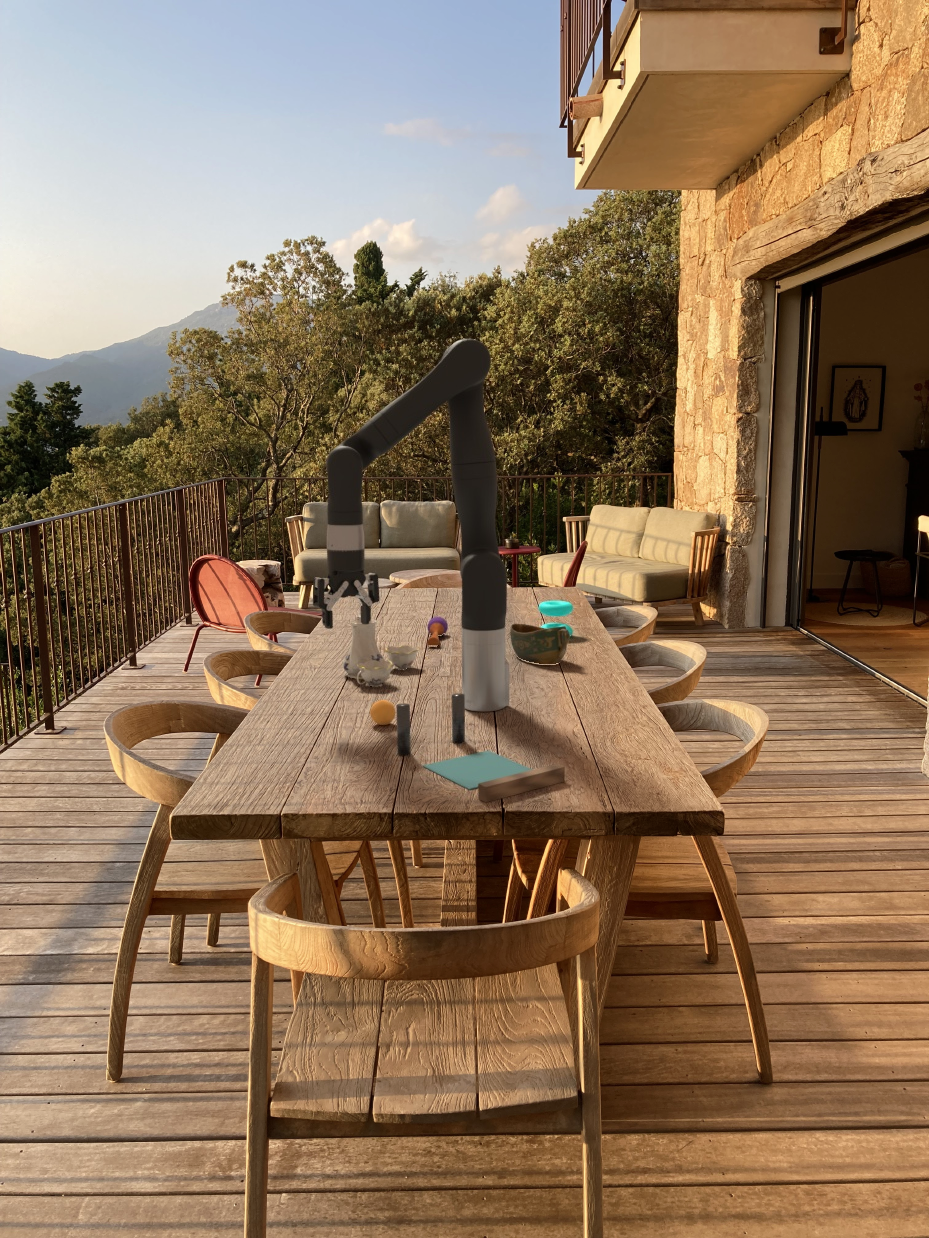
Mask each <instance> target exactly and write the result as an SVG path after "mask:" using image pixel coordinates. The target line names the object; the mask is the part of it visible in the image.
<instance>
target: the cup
mask: <svg viewBox="0 0 929 1238" xmlns="http://www.w3.org/2000/svg"><path fill="white" fill-rule="evenodd" d="M509 631H510V641H511V646H512V649H513V651H514V653H515V654H516V657H517V656H518V657H519V658H521V659H523V660H526V661H529V662H534V663H539V664H556V663H559V662H560V663H561V661H562V659H563V658H565V655H566V652H567V649H568V648H567V647H568V644H569V642H570V639H571V636H570V634H569V631H568V630H567V629H566V626H562V627H554V628H548V629H547V628H541V626H540V627H539V626H536V625H531V624H526V623H513V624H511V626H510V630H509Z"/></svg>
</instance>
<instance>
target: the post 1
mask: <svg viewBox="0 0 929 1238" xmlns="http://www.w3.org/2000/svg"><path fill="white" fill-rule="evenodd" d="M395 712H396V743H397V744H396V745H397V746H396V747H397V755H398V756H401V757H403V756H404V757H406V756H410V755H411V754H412V747H411V704H409V703H405V702H404V703H397V704H396V708H395Z"/></svg>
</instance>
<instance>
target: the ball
mask: <svg viewBox="0 0 929 1238" xmlns="http://www.w3.org/2000/svg"><path fill="white" fill-rule="evenodd" d="M370 708H371V709H370V710H369V711H370V712H369V713H370V718H371V719H372V721H373V722H374V724H376V725H380V726H387V725H389V724H390V723H392V722H393V721H394V719H395V717H396V714H397V711H396V708H395V705H394V704H393V703H392V702H391V701H389V700H387V699H380V700H378V701H377V700H376V702H374V703H373V704H372V706H371V707H370Z"/></svg>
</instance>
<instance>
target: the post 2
mask: <svg viewBox="0 0 929 1238" xmlns="http://www.w3.org/2000/svg"><path fill="white" fill-rule="evenodd" d="M465 710H466V709H465V695H464V694H462V692H460V693H459V692H458V693H452V694H451V733H452V734H451V741H452V743H453V744H464V743H465V742H466V718H465V717H466V715H465V714H466V711H465Z"/></svg>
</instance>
